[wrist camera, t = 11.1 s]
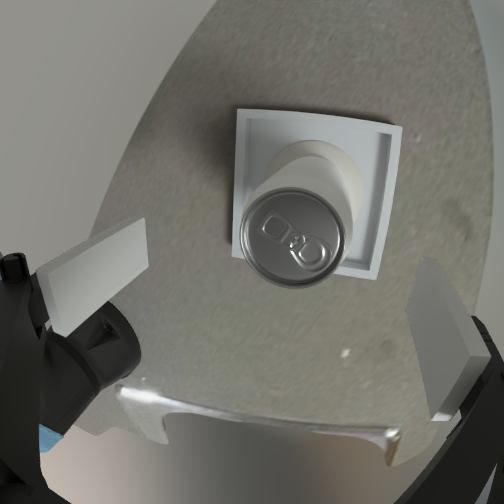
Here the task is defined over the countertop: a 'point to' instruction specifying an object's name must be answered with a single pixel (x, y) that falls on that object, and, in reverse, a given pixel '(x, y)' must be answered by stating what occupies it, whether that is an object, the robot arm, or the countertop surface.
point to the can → (298, 224)
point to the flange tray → (337, 152)
